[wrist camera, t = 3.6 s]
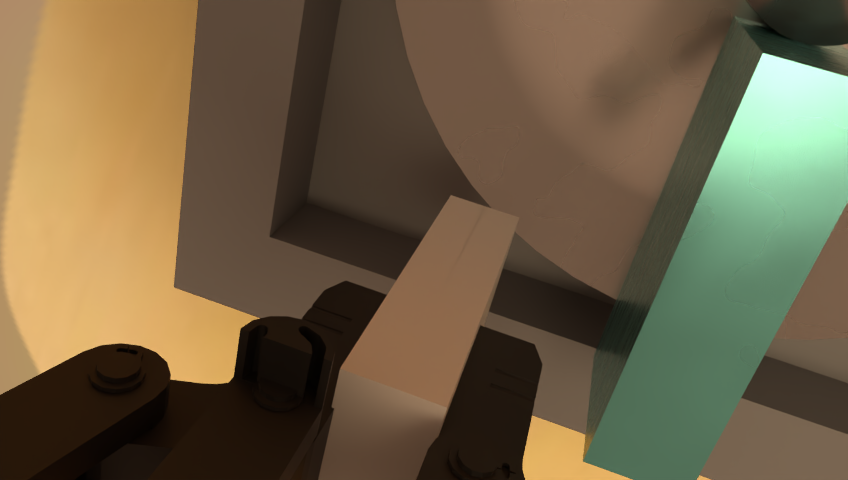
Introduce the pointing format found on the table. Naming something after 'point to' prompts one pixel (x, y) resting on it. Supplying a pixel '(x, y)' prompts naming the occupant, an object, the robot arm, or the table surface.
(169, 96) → the table surface
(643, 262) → the dial
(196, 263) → the housing
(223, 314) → the table surface
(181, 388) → the robot arm
